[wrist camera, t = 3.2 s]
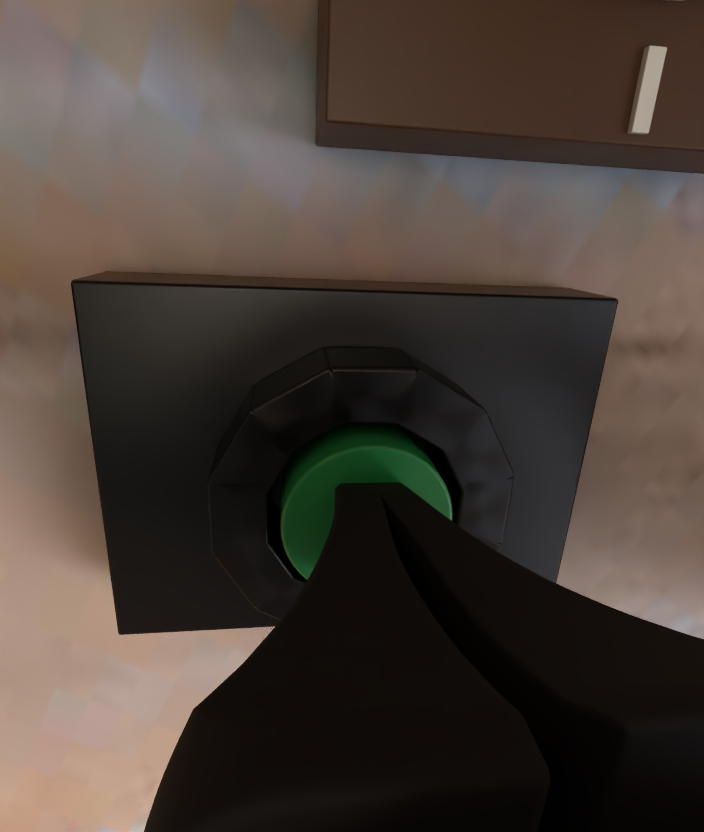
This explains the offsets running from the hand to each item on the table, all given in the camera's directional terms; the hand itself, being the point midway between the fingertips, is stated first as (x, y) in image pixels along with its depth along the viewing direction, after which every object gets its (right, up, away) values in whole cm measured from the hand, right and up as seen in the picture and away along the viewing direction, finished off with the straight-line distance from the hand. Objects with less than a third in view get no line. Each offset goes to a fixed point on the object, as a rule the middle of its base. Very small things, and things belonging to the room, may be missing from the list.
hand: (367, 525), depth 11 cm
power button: (0, +1, +2) cm, 2 cm away
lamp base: (0, +2, +4) cm, 4 cm away
